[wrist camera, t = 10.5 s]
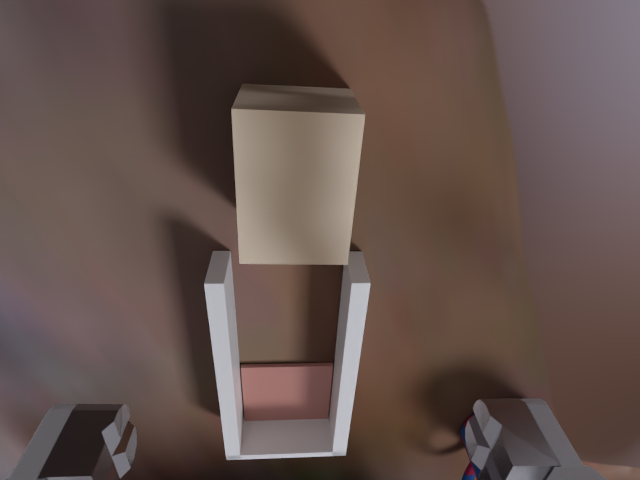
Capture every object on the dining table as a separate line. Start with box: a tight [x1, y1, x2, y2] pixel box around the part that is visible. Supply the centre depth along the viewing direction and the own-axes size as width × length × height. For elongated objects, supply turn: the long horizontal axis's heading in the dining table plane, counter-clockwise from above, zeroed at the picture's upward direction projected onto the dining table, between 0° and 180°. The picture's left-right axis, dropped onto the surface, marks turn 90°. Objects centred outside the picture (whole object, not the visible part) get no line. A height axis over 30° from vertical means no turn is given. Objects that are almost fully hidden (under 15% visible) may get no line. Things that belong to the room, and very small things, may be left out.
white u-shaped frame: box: [204, 251, 371, 460], centre depth 27 cm, size 9×16×3 cm, turn 177°
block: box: [231, 84, 365, 265], centre depth 19 cm, size 5×7×4 cm
